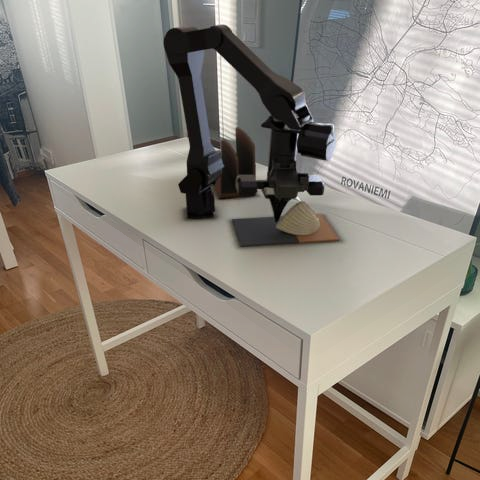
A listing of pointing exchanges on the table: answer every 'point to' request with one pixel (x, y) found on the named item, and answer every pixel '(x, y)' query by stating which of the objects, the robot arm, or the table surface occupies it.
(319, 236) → the desk pad
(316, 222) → the seashell
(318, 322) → the table surface
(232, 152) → the letter holder
